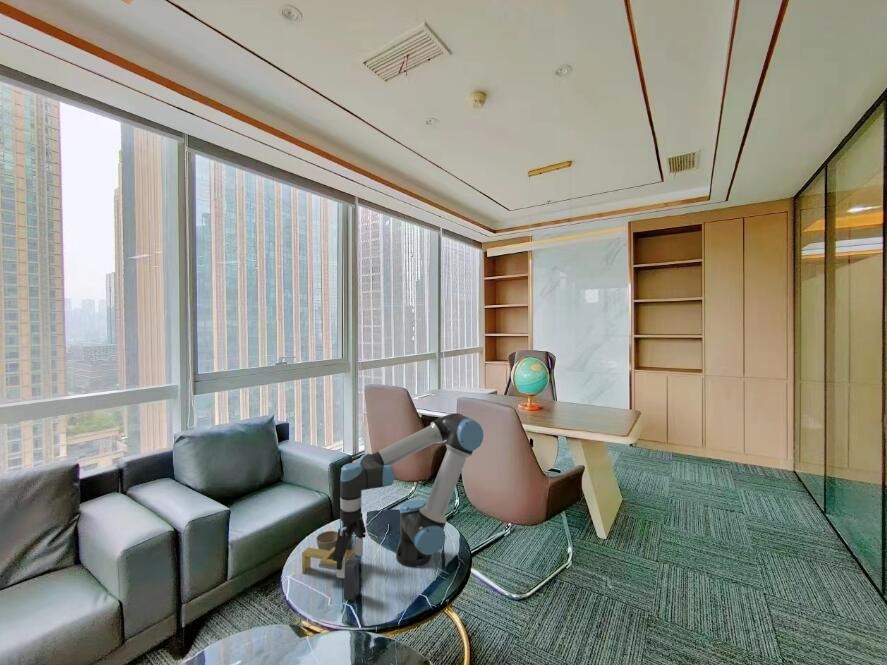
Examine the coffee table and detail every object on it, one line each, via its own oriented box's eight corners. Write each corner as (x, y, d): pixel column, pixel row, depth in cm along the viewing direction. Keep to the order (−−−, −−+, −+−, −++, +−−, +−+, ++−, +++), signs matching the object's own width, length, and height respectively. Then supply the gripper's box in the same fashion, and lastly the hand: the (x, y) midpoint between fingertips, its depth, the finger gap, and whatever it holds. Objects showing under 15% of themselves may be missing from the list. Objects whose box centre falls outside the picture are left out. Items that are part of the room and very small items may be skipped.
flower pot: (333, 561, 161) (333, 544, 161) (311, 558, 163) (311, 541, 163) (344, 547, 171) (344, 531, 171) (323, 545, 173) (323, 529, 173)
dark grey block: (359, 593, 141) (358, 561, 141) (353, 601, 137) (353, 567, 137) (349, 591, 142) (349, 559, 142) (343, 599, 138) (343, 566, 138)
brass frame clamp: (362, 560, 161) (362, 508, 161) (342, 586, 145) (341, 528, 145) (321, 553, 166) (320, 503, 166) (297, 577, 150) (297, 522, 150)
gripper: (357, 492, 152) (357, 545, 152) (322, 522, 128) (321, 585, 128) (374, 494, 150) (374, 548, 151) (342, 525, 126) (342, 589, 126)
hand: (350, 565), depth 139 cm, fingers open, 13 cm apart
